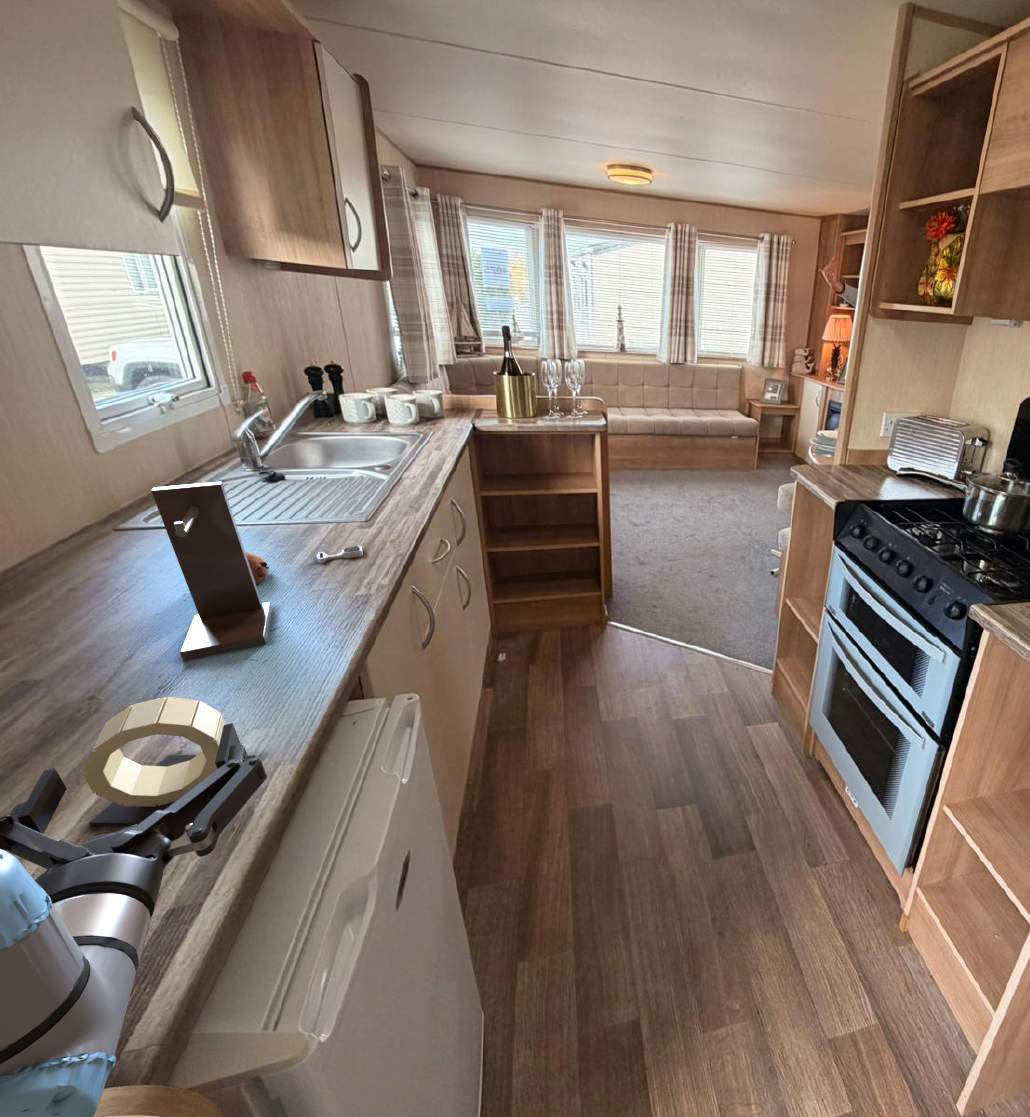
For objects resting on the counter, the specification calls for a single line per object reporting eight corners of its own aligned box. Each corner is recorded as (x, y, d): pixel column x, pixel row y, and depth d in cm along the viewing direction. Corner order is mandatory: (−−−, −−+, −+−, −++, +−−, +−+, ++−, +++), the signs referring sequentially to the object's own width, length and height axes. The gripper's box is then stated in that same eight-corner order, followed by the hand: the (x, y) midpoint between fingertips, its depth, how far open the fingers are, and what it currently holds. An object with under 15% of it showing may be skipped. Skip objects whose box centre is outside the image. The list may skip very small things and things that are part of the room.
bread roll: (220, 592, 115) (183, 563, 110) (273, 561, 118) (240, 531, 113) (221, 613, 108) (183, 583, 103) (277, 579, 112) (243, 548, 107)
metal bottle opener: (363, 557, 124) (362, 551, 124) (317, 564, 120) (316, 558, 119) (362, 549, 127) (360, 543, 127) (317, 556, 123) (315, 551, 122)
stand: (197, 623, 98) (144, 487, 88) (272, 609, 103) (230, 479, 94) (183, 661, 89) (122, 514, 79) (266, 644, 94) (218, 504, 84)
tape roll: (121, 789, 66) (82, 715, 62) (239, 756, 71) (211, 686, 67) (108, 821, 62) (66, 744, 58) (234, 784, 68) (204, 711, 63)
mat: (90, 827, 62) (88, 822, 62) (170, 758, 71) (168, 754, 71) (190, 827, 63) (187, 823, 63) (256, 759, 72) (255, 755, 72)
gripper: (-147, 1052, 41) (-12, 831, 57) (295, 885, 53) (303, 742, 69) (-215, 986, 38) (-52, 772, 54) (272, 825, 50) (286, 690, 66)
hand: (148, 755), depth 62 cm, fingers open, 13 cm apart
